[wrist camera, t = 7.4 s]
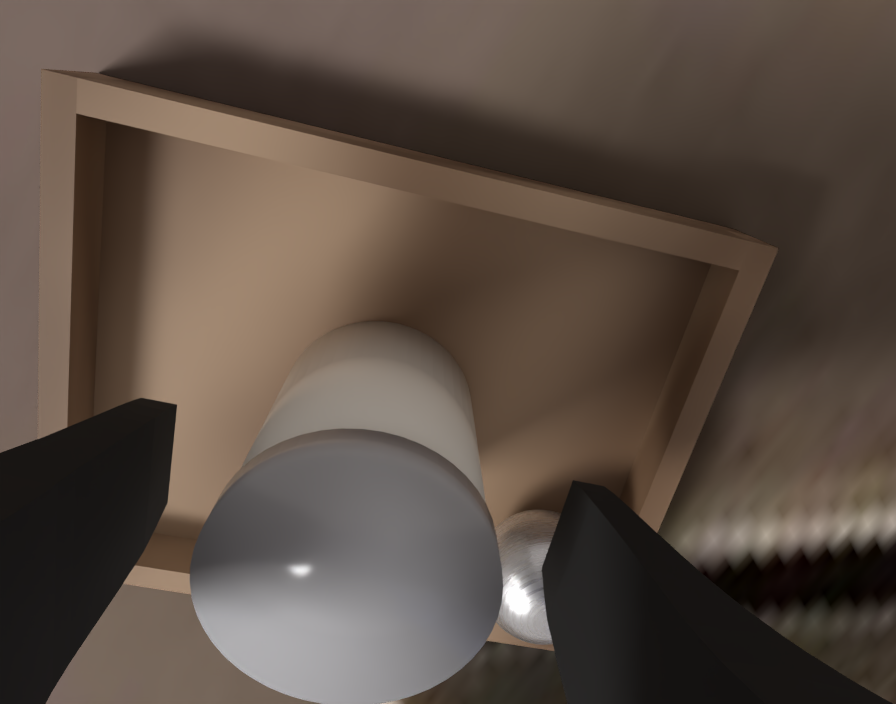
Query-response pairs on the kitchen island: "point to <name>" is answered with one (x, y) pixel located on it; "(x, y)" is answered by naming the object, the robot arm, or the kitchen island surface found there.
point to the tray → (366, 297)
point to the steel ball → (525, 573)
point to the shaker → (355, 527)
